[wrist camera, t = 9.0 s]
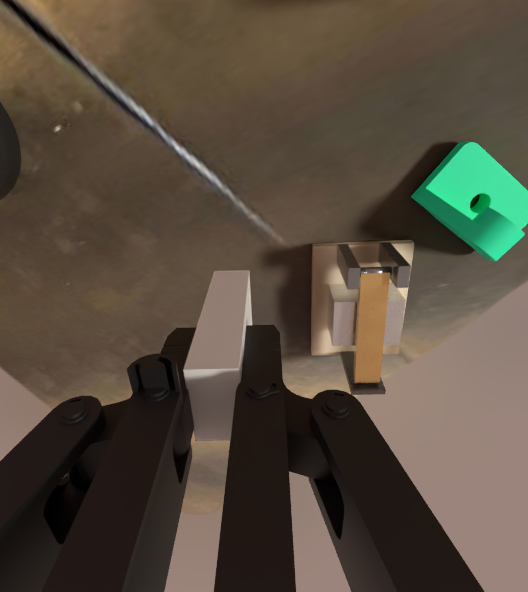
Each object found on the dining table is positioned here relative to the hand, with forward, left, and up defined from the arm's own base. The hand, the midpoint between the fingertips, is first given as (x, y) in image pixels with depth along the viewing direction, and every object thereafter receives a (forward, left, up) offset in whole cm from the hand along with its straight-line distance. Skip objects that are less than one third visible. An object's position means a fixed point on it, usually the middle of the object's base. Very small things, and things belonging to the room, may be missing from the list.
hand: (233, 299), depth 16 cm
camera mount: (+24, -3, -29) cm, 38 cm away
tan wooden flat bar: (+12, -15, -22) cm, 29 cm away
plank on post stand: (+12, -15, -28) cm, 34 cm away
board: (+12, -15, -29) cm, 35 cm away
